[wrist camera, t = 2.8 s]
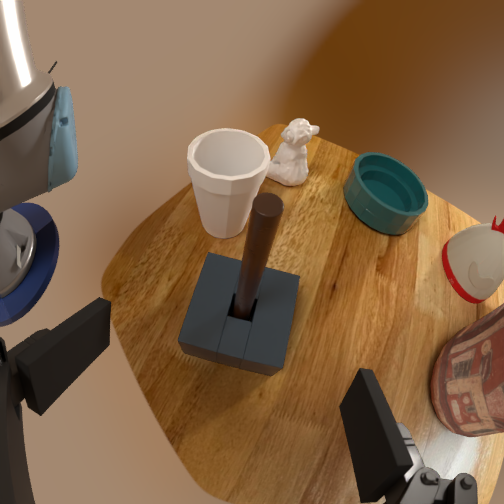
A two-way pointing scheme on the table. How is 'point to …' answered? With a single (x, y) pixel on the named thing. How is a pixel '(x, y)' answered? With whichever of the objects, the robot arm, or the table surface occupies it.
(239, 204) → the foam cup
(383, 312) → the table surface
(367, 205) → the bowl
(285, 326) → the holder
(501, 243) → the kitchen timer
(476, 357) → the pottery
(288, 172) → the white creature statuette
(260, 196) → the brown rod
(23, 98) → the robot arm
